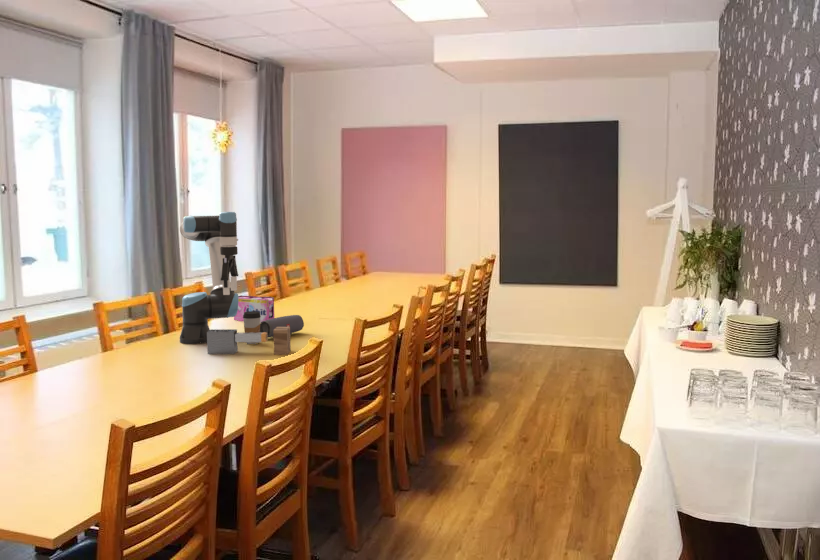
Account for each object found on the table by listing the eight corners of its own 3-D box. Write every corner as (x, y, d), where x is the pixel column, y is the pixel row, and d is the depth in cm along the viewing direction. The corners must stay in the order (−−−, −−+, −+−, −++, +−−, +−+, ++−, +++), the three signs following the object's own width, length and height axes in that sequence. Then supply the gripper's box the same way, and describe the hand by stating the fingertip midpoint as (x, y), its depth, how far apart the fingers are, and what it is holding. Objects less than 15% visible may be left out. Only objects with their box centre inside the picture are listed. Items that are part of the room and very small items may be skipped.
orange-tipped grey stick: (212, 340, 328) (212, 332, 327) (267, 340, 327) (267, 332, 327) (210, 342, 324) (209, 334, 324) (265, 342, 324) (265, 333, 323)
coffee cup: (257, 345, 341) (256, 314, 340) (240, 344, 343) (239, 313, 341) (264, 342, 349) (263, 311, 348) (248, 341, 351) (247, 310, 349)
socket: (277, 350, 330) (276, 326, 329) (290, 350, 330) (290, 326, 329) (274, 354, 322) (273, 330, 321) (287, 354, 322) (286, 330, 321)
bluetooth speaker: (271, 341, 351) (270, 321, 350) (258, 339, 357) (257, 319, 356) (305, 334, 369) (304, 314, 368) (292, 332, 375) (291, 312, 374)
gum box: (277, 321, 407) (276, 297, 405) (269, 323, 399) (268, 299, 398) (241, 318, 416) (241, 295, 414) (233, 320, 409) (232, 297, 407)
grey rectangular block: (211, 351, 329) (210, 329, 328) (237, 351, 329) (236, 329, 328) (207, 354, 323) (206, 332, 322) (234, 354, 323) (233, 332, 322)
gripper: (230, 248, 314) (231, 296, 317) (243, 244, 339) (244, 288, 342) (212, 248, 314) (214, 296, 317) (227, 244, 339) (228, 288, 342)
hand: (230, 292), depth 329 cm, fingers open, 13 cm apart
